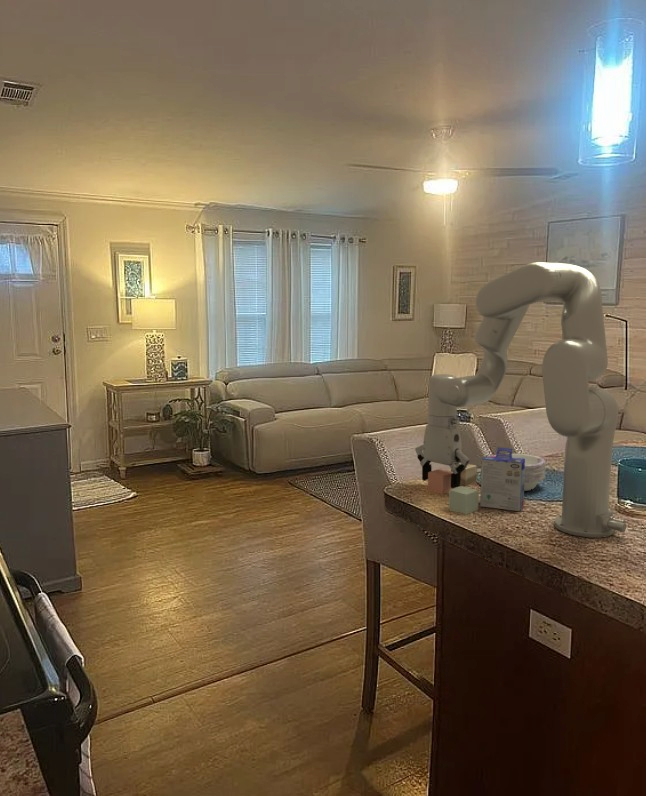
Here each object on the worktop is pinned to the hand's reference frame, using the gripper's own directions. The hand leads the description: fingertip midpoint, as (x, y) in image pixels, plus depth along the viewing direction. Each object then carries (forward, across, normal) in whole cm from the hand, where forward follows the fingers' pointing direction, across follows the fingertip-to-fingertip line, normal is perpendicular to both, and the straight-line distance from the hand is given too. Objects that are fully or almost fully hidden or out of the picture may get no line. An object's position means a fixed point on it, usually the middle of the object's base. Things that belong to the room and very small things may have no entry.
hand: (440, 483), depth 171 cm
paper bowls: (+2, -12, -17) cm, 21 cm away
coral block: (+2, 0, 0) cm, 2 cm away
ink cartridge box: (+2, -19, 0) cm, 19 cm away
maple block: (+2, 0, -10) cm, 10 cm away
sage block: (+2, -14, +9) cm, 17 cm away
